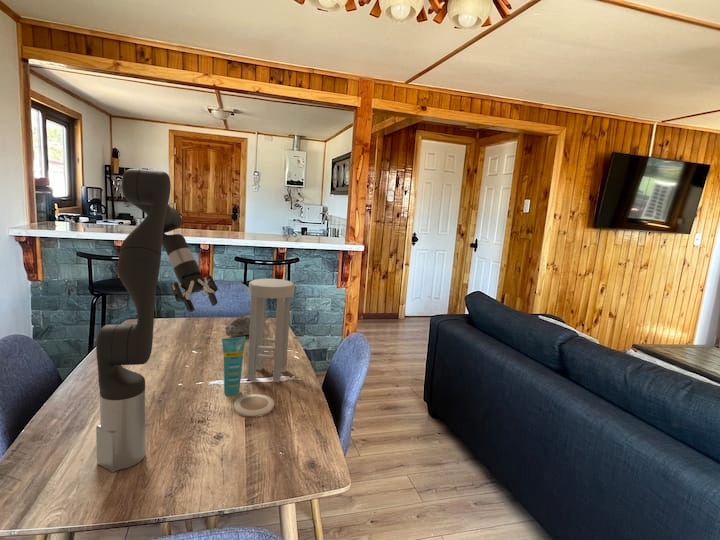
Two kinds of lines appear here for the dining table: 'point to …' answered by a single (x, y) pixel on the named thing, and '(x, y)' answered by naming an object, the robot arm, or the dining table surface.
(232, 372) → the tube
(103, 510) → the dining table surface
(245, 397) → the coaster
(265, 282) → the stool
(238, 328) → the mineral rock
